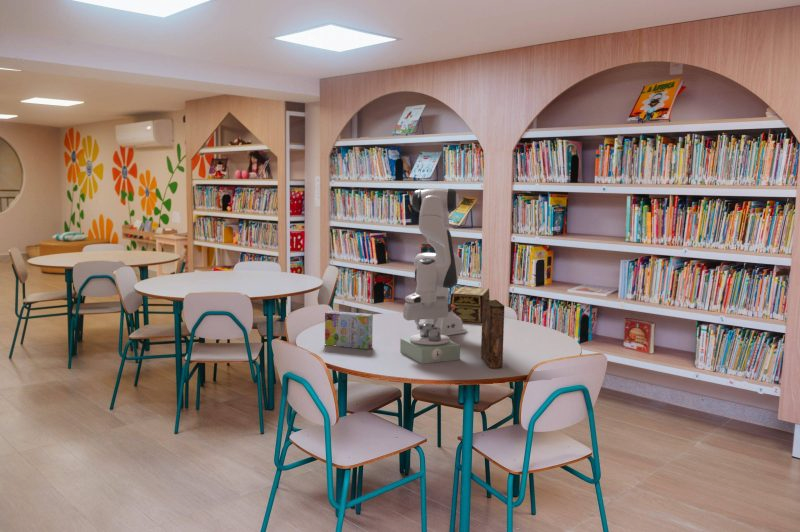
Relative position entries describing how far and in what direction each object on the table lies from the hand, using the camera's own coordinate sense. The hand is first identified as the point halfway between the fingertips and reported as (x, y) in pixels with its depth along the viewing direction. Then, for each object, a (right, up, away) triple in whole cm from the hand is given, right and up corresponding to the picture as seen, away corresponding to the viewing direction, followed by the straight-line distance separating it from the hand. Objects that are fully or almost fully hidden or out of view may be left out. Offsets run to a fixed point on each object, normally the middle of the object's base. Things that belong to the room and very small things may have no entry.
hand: (425, 328), depth 274 cm
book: (+26, -13, -13) cm, 32 cm away
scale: (+2, -11, -2) cm, 11 cm away
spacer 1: (0, -3, 0) cm, 3 cm away
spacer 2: (+3, -4, -7) cm, 9 cm away
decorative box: (+28, -2, +79) cm, 84 cm away
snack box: (-34, -9, +12) cm, 37 cm away
